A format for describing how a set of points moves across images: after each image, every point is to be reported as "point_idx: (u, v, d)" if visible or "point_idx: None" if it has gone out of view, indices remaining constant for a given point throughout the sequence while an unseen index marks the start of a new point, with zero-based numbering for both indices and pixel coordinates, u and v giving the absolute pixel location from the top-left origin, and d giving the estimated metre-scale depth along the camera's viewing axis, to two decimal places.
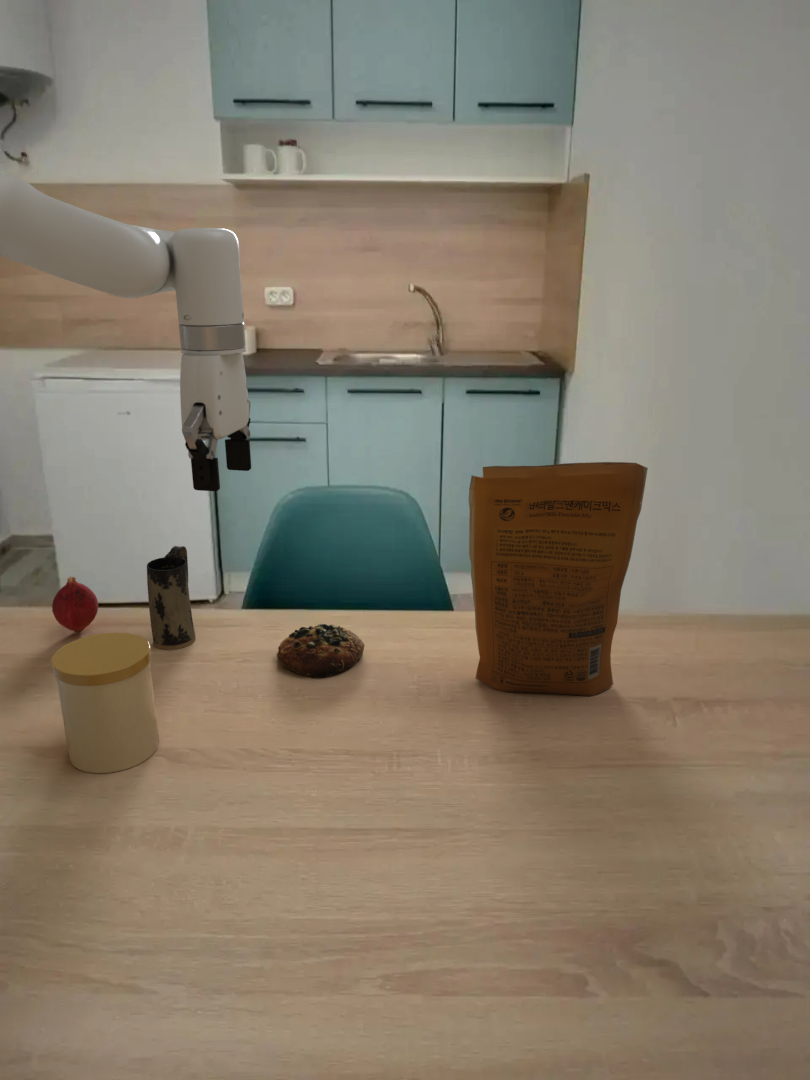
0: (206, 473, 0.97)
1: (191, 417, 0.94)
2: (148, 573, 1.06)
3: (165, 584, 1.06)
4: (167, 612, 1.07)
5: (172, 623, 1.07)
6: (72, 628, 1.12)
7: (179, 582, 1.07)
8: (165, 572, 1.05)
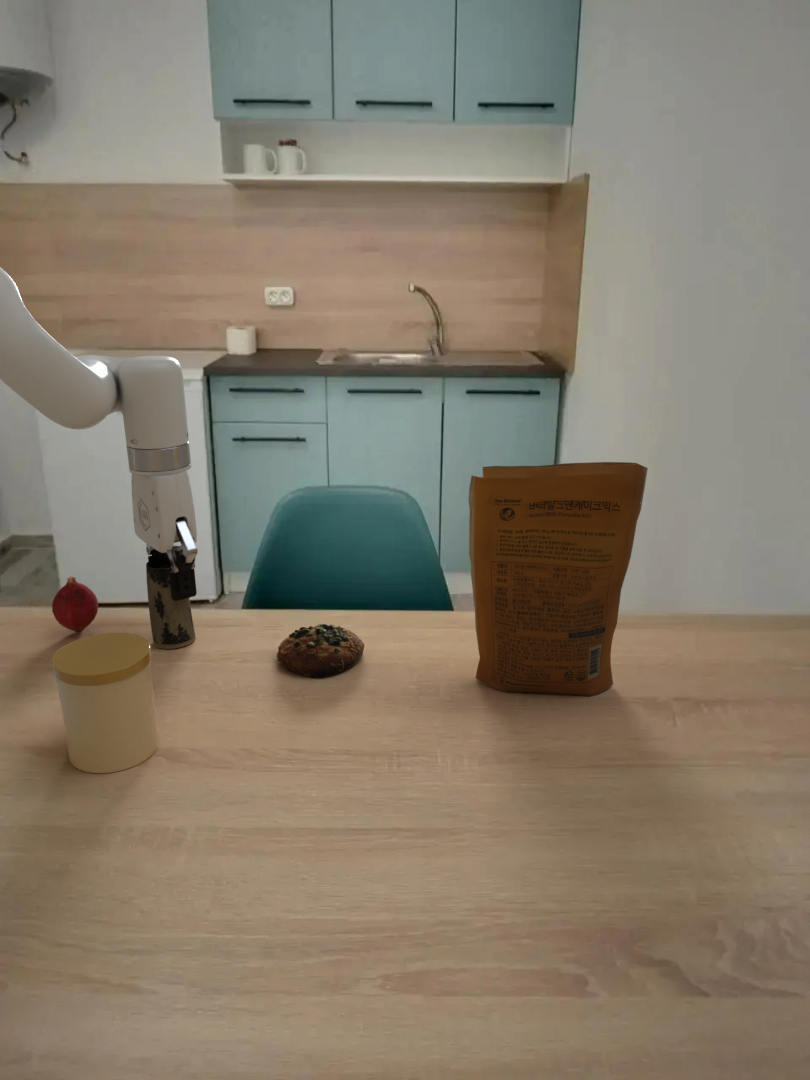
0: (190, 582, 1.06)
1: (186, 538, 1.02)
2: (147, 572, 1.06)
3: (165, 582, 1.06)
4: (166, 610, 1.07)
5: (171, 622, 1.07)
6: (72, 628, 1.12)
7: None
8: (164, 571, 1.06)
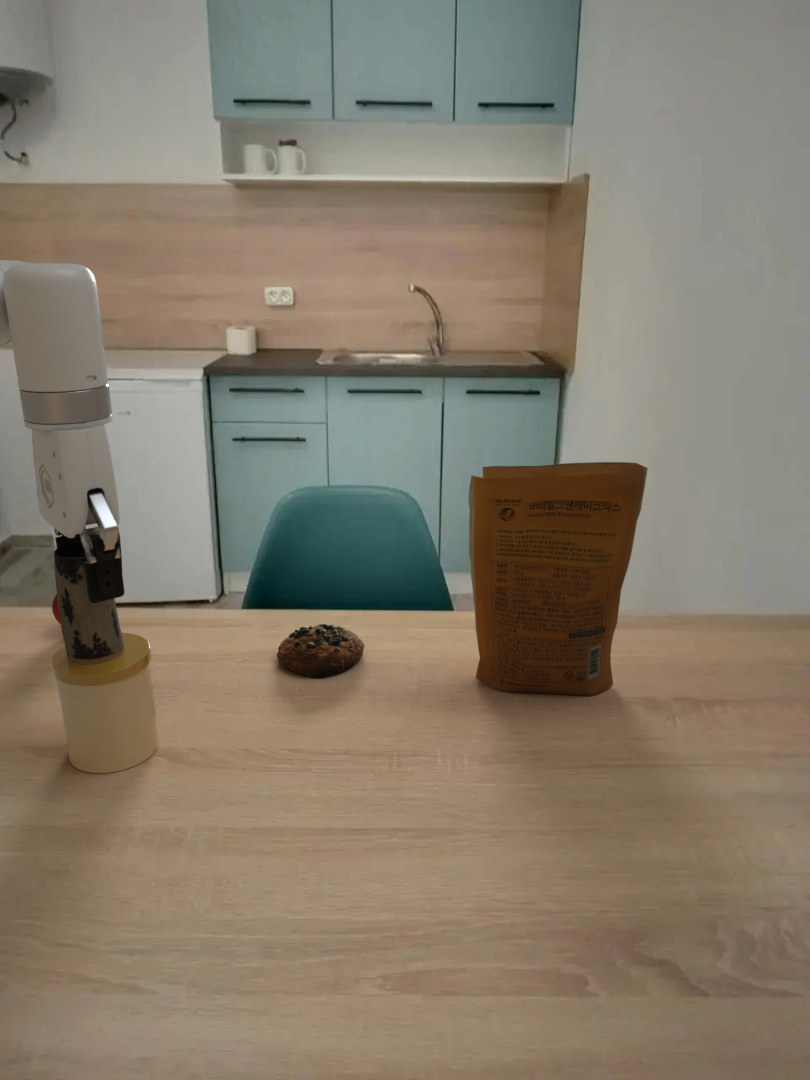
0: (113, 577, 0.77)
1: (103, 512, 0.73)
2: (54, 561, 0.79)
3: (74, 577, 0.78)
4: (76, 614, 0.79)
5: (84, 630, 0.80)
6: None
7: None
8: (73, 561, 0.78)
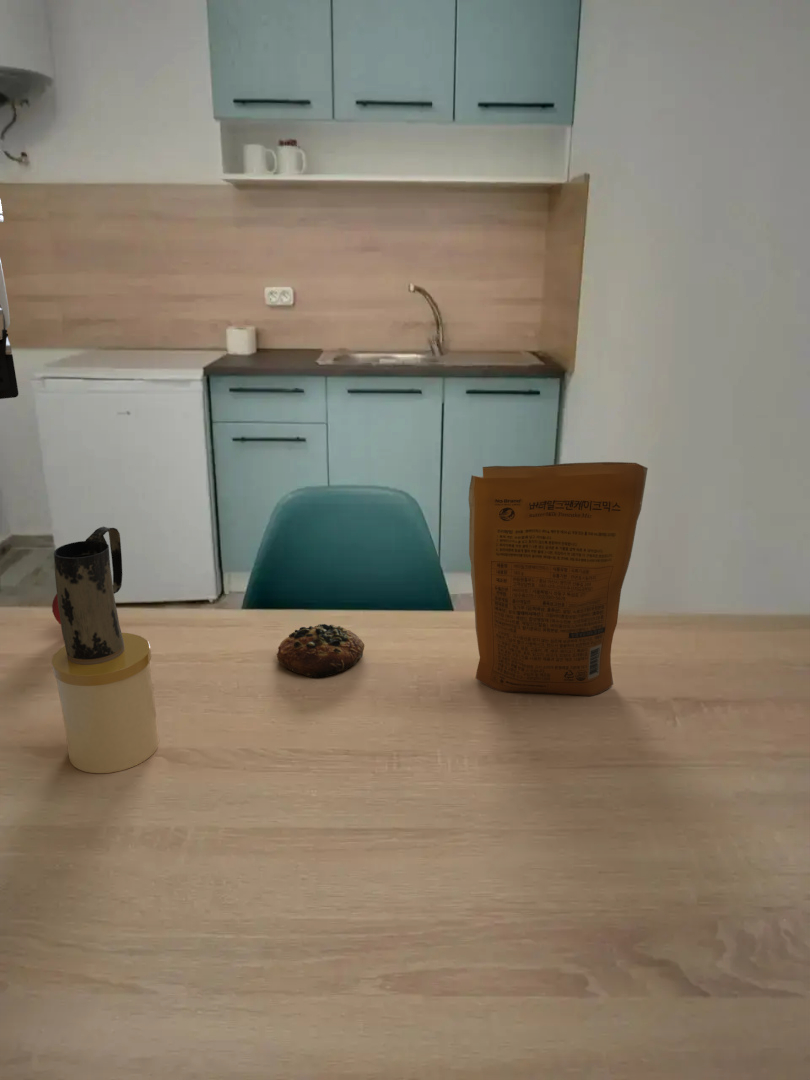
0: (5, 374, 0.77)
1: None
2: (54, 560, 0.79)
3: (74, 577, 0.78)
4: (76, 614, 0.79)
5: (84, 630, 0.80)
6: None
7: (94, 575, 0.79)
8: (73, 561, 0.78)
